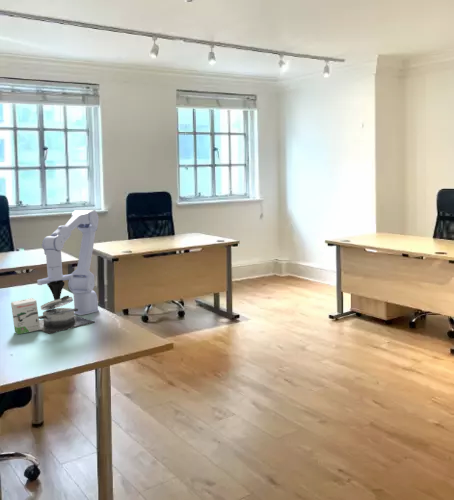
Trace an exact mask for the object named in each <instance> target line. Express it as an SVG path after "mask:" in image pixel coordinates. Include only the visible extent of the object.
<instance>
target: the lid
mask: <svg viewBox="0 0 454 500" xmlns="http://www.w3.org/2000/svg"><path fill="white" fill-rule="evenodd" d="M72 302H74V298H73V297H72V296H70V295H64V296H63V297H62V296H61V297H60V299H57V300H52V301H48V302H45V303H43V304H42V305H40V309H41V311H47V310H50V309H56V308H61V307H63V306H66V305H68V304H69V303H72Z"/></svg>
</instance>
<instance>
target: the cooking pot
mask: <svg viewBox="0 0 454 500" xmlns="http://www.w3.org/2000/svg"><path fill="white" fill-rule="evenodd" d="M75 311H78V309H77V308H71V307H57V308H54V309H50V310H43V312H42V315H40V316H39V315H38V317H39V325H40V330H38V331H40V332H42V333H46V334H49V335H50V334H56V333H57V332H58V333H59V332H62V331H67V330H70V329H75V328H79V327H82V326H86V325H90V324H94V323H95V320H91V319H88V318H84V317H81V316H79V315H76V314H74V312H75Z"/></svg>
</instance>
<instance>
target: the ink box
mask: <svg viewBox="0 0 454 500" xmlns="http://www.w3.org/2000/svg"><path fill="white" fill-rule="evenodd" d="M10 305H11V313H12V320H13V326H14V327H13V328H14V333H15V334H17V335H22V334H26V333H32V332H36V331H39V330H40V325H39V320H40V319H39V311H38V304H37V300H36V299H35V298H32V297H31V298H28V299H27V298H25V299H21V300H15V301H11V303H10Z"/></svg>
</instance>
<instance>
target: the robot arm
mask: <svg viewBox="0 0 454 500" xmlns="http://www.w3.org/2000/svg"><path fill="white" fill-rule="evenodd" d="M99 219H100V217H99V214H98V212H97V211H96V210H95V209H92V210H89V209H87V210H79V209H75V210H73V212H72V213H71V215H70V219H68V221H67V222H66V223H65V224H64V225H58V226H57V229H55V230H54V231H53V232H52V233H51V234H50V235H47V236H45V237H44V238H43V240H42V241H41V242H42V244H41V247H42V249H43V252H44V253H43V254H44V255H45V258H46V271H47V277H43V278H40V279H37V281H36V282H37V285H38V286H43V285H47V287H48V288H49V289H50V292H51V293H52V297H53V299H54V300H57V299H61V297H62V296H61V295H62V292H63V289H64V286H65V281H68V284H67V285H68V289H69V290H70V291H71V293H72V294H73V307H74V308H77V309H78V311H75V312H74V315H76V316H84V315H87V314H93V313H97V312H100V310H99V304H98V301H99V300H98V295H97V292H96V291H95V290H94V288H95V285H96V283H95V274H94V273H93V272H92V271H91V270H90V269H91V264H92V256H93V251H94V250H93V249H94V246H95V245H94V243H95V238H96V231H98V226H99ZM75 229H78V231H80V232H81V235H82V237H81V241H80V249H79V254H78V261H77V265H76V266H77V267H76V269H75V270H73V271H72V272H71V273H69V274H63V264H62V263H63V262H62V261H63V260H62V250H63V248H64V245H65V244H66V241H68V239H70V237H71V236H72V231H74V230H75ZM54 300H53V301H54ZM74 308H73V309H74Z"/></svg>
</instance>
